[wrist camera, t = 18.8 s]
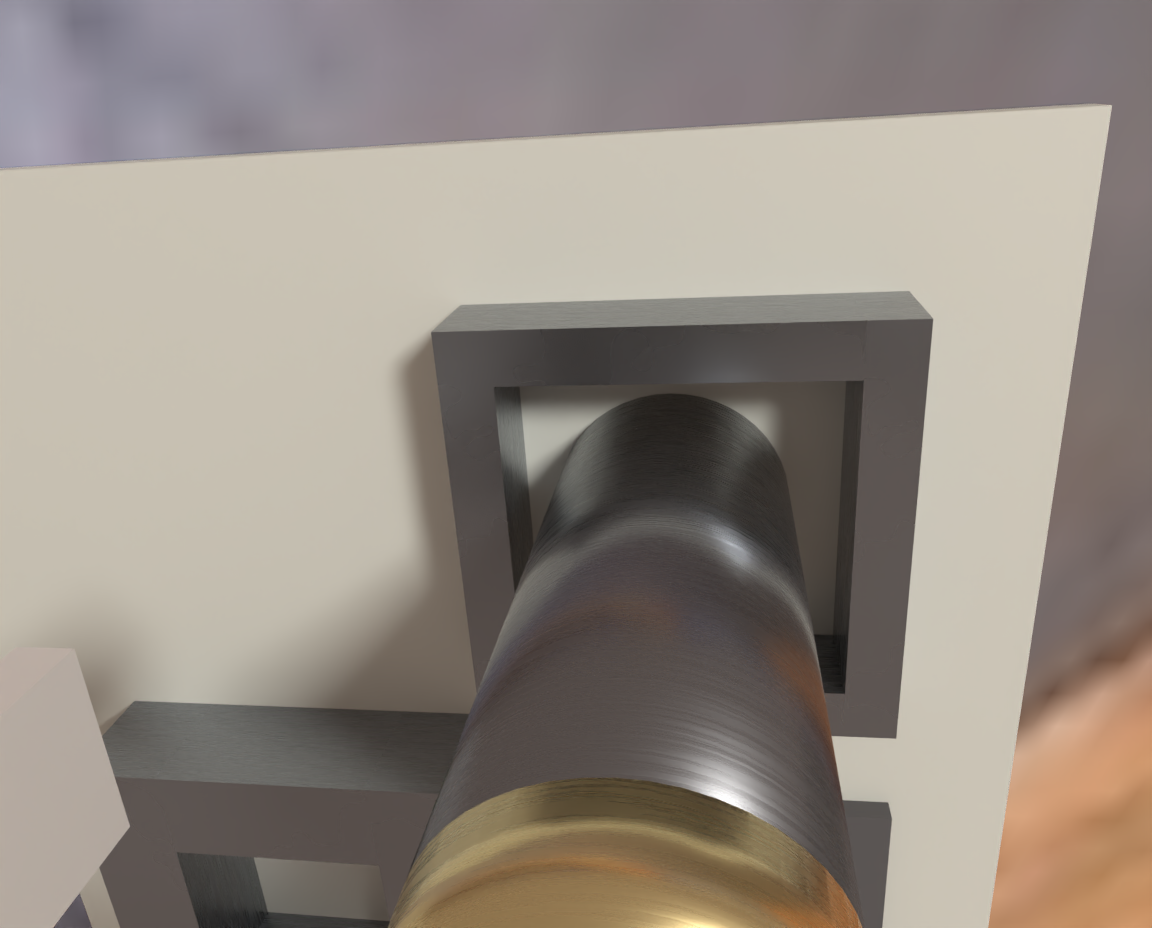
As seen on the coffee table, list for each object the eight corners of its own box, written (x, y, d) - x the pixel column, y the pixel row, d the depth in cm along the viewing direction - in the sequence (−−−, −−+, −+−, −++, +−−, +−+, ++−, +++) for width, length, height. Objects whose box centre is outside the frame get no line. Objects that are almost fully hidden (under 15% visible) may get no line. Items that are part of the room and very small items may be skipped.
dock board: (121, 940, 28) (105, 963, 27) (-146, 177, 19) (-181, 181, 18) (963, 1009, 24) (971, 1039, 23) (1093, 103, 15) (1112, 105, 15)
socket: (500, 664, 21) (479, 721, 19) (460, 304, 18) (430, 331, 16) (879, 675, 19) (896, 738, 18) (909, 290, 16) (933, 319, 14)
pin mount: (212, 961, 26) (162, 1049, 24) (134, 700, 23) (66, 774, 20) (523, 987, 25) (502, 1084, 22) (489, 714, 21) (461, 795, 19)
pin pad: (596, 993, 24) (594, 1011, 24) (580, 787, 22) (577, 801, 21) (869, 1016, 23) (872, 1035, 23) (887, 802, 21) (891, 818, 20)
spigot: (551, 395, 18) (298, 899, 7) (792, 391, 17) (924, 944, 6) (567, 598, 20) (383, 1253, 9) (786, 602, 19) (881, 1319, 8)
